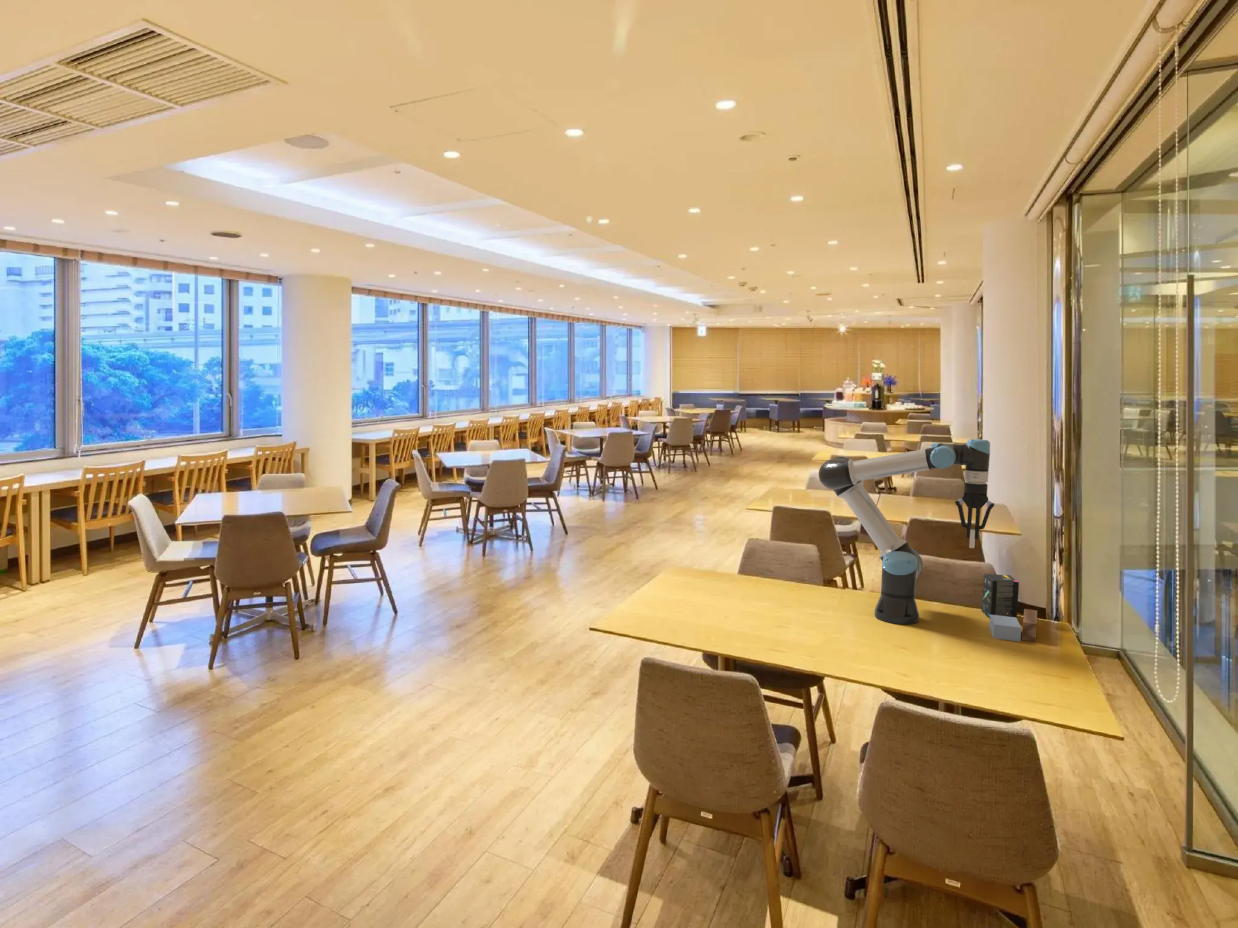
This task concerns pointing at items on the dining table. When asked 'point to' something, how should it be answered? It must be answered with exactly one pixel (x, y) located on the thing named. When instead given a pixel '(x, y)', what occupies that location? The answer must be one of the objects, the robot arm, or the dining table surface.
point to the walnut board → (1029, 625)
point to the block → (1005, 628)
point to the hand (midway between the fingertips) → (971, 547)
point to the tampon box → (1000, 595)
